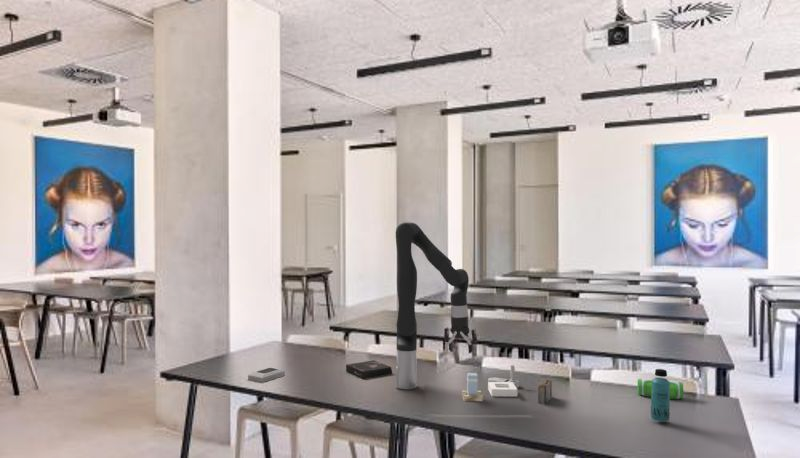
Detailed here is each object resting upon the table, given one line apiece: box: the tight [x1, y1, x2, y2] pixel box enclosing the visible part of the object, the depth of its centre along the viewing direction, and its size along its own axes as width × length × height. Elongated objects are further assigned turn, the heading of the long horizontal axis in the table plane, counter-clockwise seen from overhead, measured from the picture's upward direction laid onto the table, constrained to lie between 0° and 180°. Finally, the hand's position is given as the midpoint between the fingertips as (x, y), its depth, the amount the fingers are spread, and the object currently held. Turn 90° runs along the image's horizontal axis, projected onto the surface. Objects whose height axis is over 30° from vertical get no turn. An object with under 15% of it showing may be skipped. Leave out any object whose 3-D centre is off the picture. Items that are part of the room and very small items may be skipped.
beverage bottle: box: [650, 368, 671, 422], centre depth 211 cm, size 6×7×20 cm
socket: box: [487, 381, 518, 398], centre depth 245 cm, size 11×11×4 cm
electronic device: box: [487, 365, 520, 389], centre depth 260 cm, size 5×10×15 cm
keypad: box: [247, 366, 286, 384], centre depth 272 cm, size 10×4×15 cm
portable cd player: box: [345, 359, 393, 380], centre depth 282 cm, size 16×17×4 cm
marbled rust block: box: [537, 379, 553, 405], centre depth 238 cm, size 11×3×10 cm, turn 150°
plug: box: [466, 372, 479, 395], centre depth 238 cm, size 4×4×10 cm
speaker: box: [637, 377, 684, 400], centre depth 243 cm, size 18×7×8 cm, turn 71°
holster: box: [461, 390, 484, 402], centre depth 238 cm, size 8×8×3 cm
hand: (461, 352), depth 244 cm, fingers open, 8 cm apart
